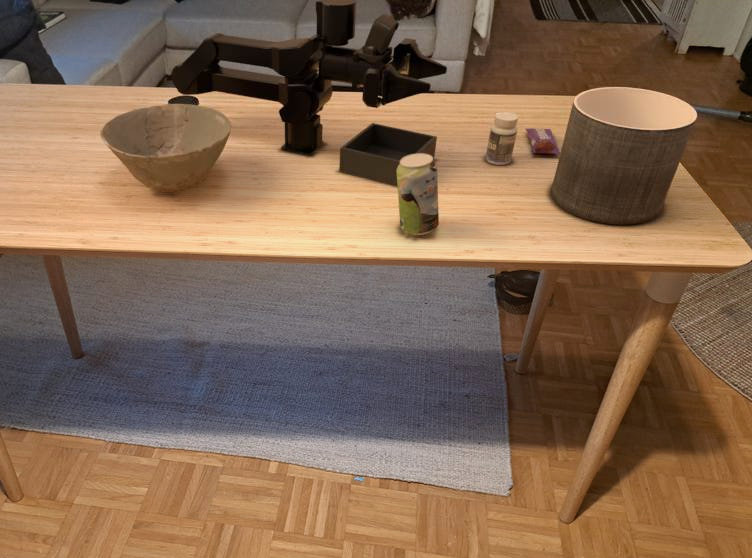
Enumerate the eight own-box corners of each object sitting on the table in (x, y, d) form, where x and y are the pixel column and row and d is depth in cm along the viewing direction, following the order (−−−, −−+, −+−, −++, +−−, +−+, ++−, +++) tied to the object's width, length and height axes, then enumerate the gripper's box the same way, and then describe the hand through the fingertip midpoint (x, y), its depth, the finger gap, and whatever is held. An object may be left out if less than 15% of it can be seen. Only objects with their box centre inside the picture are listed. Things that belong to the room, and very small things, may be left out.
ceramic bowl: (182, 144, 135) (176, 94, 129) (261, 180, 123) (258, 126, 116) (86, 181, 124) (73, 127, 117) (161, 225, 111) (152, 168, 105)
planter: (673, 229, 108) (713, 132, 97) (557, 222, 110) (583, 126, 100) (647, 179, 121) (679, 89, 110) (544, 173, 123) (565, 84, 113)
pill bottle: (481, 155, 129) (489, 111, 124) (506, 154, 130) (515, 110, 124) (489, 166, 126) (498, 121, 120) (514, 164, 126) (524, 120, 120)
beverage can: (436, 241, 106) (447, 169, 98) (389, 237, 107) (396, 165, 99) (438, 221, 111) (448, 151, 103) (392, 217, 112) (399, 147, 104)
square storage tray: (339, 171, 125) (339, 147, 122) (371, 145, 133) (372, 122, 130) (405, 188, 120) (407, 163, 117) (434, 160, 128) (437, 136, 125)
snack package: (526, 123, 136) (551, 124, 135) (523, 133, 137) (549, 134, 136) (534, 147, 127) (562, 148, 126) (532, 157, 128) (559, 158, 128)
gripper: (332, 31, 108) (427, 43, 102) (374, 3, 120) (461, 12, 115) (330, 101, 115) (418, 116, 110) (370, 68, 127) (451, 79, 122)
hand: (438, 78), depth 114 cm, fingers open, 9 cm apart
